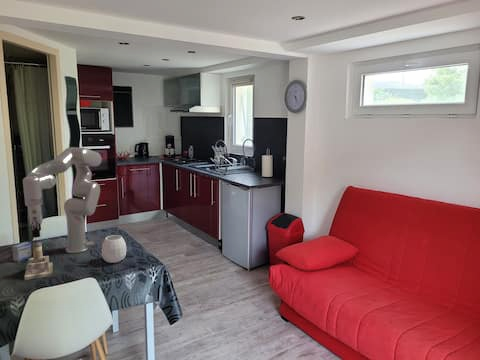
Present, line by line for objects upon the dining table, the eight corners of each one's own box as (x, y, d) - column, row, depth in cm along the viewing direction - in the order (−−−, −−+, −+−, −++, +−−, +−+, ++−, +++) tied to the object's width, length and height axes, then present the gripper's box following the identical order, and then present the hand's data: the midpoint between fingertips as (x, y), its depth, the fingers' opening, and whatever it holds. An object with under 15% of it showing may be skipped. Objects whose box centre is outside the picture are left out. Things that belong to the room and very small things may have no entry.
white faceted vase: (123, 265, 194) (122, 241, 191) (98, 265, 193) (97, 241, 190) (129, 255, 207) (128, 233, 204) (106, 255, 206) (105, 233, 203)
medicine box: (19, 262, 193) (17, 247, 191) (13, 260, 194) (11, 245, 193) (32, 256, 200) (30, 242, 199) (26, 255, 202) (24, 241, 200)
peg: (43, 267, 185) (41, 241, 182) (43, 270, 181) (41, 244, 178) (34, 268, 183) (32, 242, 180) (34, 271, 179) (32, 245, 177)
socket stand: (52, 264, 191) (51, 253, 190) (52, 275, 179) (51, 263, 178) (26, 268, 186) (25, 257, 184) (24, 280, 173) (23, 267, 172)
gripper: (41, 205, 169) (44, 238, 173) (43, 196, 184) (46, 227, 188) (23, 206, 166) (27, 241, 170) (26, 197, 181) (29, 229, 185)
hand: (37, 233), depth 179 cm, fingers open, 9 cm apart
